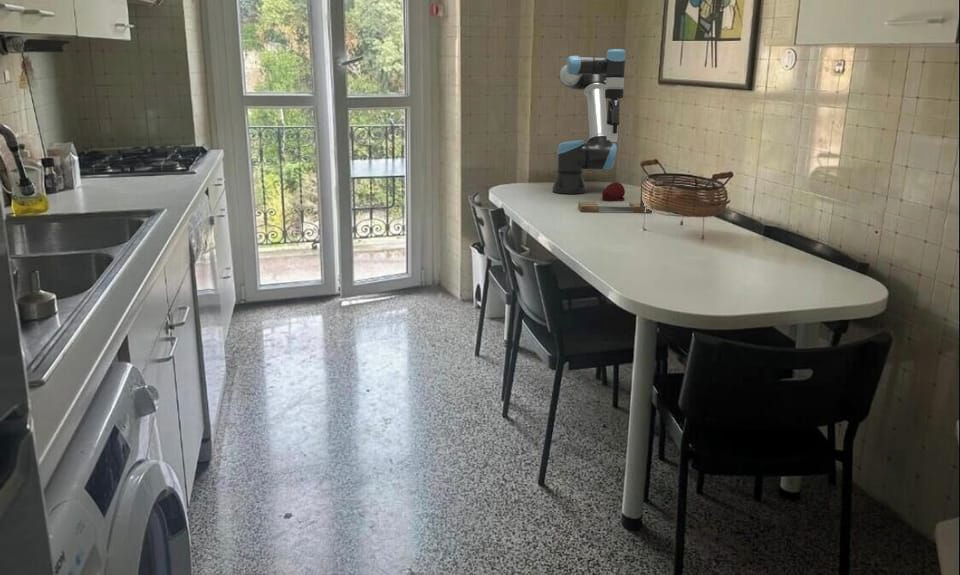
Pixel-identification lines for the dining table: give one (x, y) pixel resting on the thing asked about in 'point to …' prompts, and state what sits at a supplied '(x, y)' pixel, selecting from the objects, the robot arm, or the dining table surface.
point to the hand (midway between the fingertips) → (611, 141)
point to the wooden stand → (632, 206)
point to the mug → (614, 192)
